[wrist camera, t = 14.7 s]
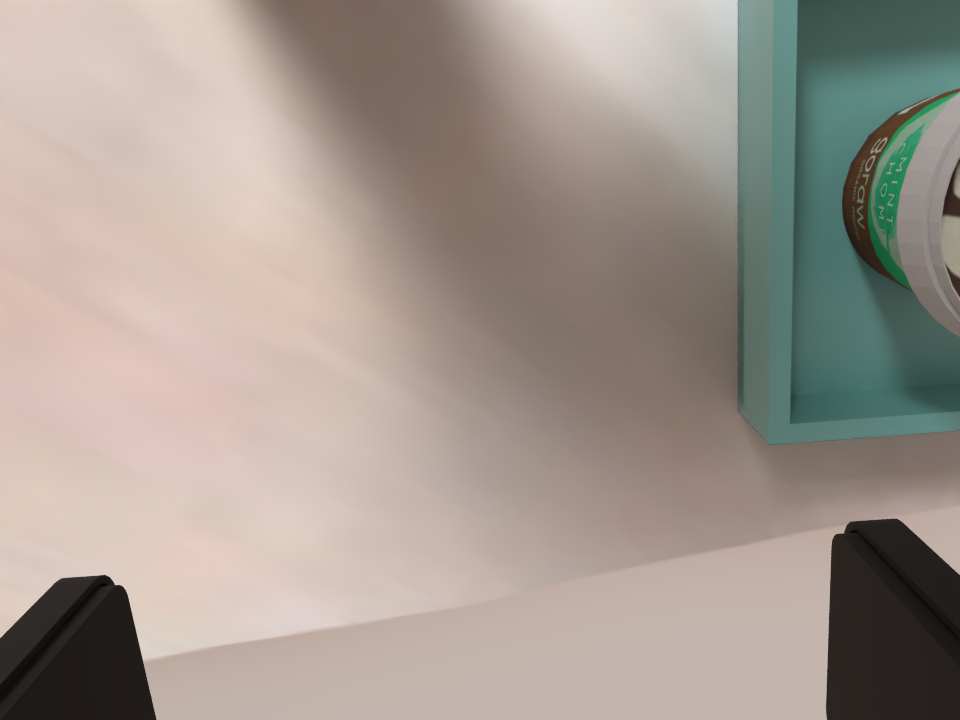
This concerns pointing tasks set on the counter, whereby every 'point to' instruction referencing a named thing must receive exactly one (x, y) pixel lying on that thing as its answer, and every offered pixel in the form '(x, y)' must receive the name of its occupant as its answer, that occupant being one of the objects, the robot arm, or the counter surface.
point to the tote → (832, 222)
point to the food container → (911, 203)
